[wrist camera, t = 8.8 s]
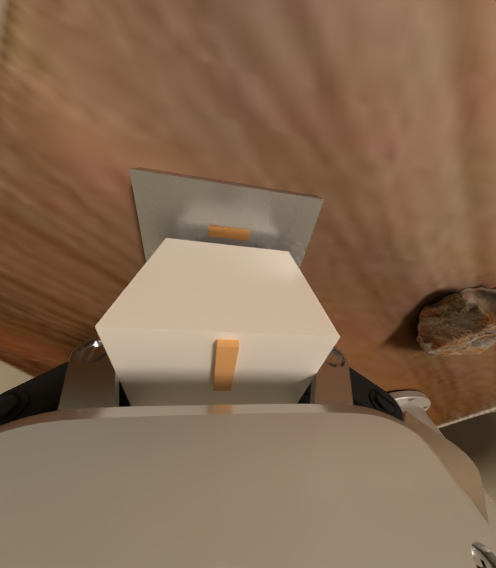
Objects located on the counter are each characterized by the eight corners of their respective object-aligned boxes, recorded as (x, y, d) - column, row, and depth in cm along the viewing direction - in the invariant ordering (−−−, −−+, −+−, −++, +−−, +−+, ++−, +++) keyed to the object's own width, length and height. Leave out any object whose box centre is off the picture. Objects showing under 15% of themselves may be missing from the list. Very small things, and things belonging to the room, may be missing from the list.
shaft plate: (263, 354, 20) (270, 395, 17) (168, 352, 19) (153, 396, 15) (315, 195, 11) (353, 213, 8) (139, 167, 10) (89, 173, 6)
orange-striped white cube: (265, 330, 14) (284, 430, 9) (175, 326, 13) (139, 435, 8) (288, 251, 10) (344, 343, 5) (166, 237, 9) (88, 334, 4)
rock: (420, 285, 16) (397, 366, 21) (529, 320, 11) (469, 418, 15) (483, 265, 18) (451, 342, 23) (600, 287, 13) (530, 382, 17)
